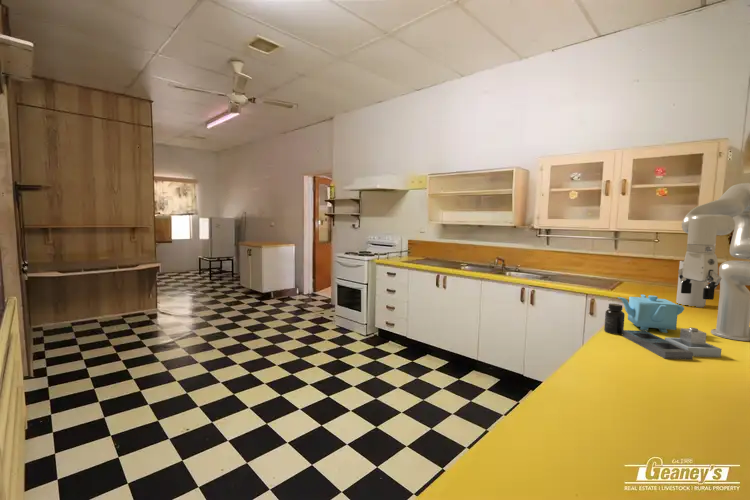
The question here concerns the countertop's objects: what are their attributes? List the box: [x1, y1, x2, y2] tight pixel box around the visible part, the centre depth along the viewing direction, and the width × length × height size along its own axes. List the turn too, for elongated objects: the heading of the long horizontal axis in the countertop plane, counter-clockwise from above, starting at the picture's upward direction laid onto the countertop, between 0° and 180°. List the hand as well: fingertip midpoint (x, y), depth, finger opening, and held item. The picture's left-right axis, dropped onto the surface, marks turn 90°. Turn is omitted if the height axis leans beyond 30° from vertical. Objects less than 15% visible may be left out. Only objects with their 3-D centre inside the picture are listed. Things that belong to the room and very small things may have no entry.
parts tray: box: [664, 336, 722, 358], centre depth 130 cm, size 11×11×3 cm
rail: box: [621, 329, 694, 361], centre depth 134 cm, size 24×9×2 cm, turn 176°
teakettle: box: [617, 294, 685, 334], centre depth 157 cm, size 19×19×15 cm
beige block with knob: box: [679, 327, 707, 347], centre depth 130 cm, size 5×5×8 cm
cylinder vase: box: [675, 260, 707, 308], centre depth 202 cm, size 12×12×25 cm
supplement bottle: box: [603, 303, 626, 335], centre depth 151 cm, size 7×7×12 cm
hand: (696, 296), depth 129 cm, fingers open, 9 cm apart
